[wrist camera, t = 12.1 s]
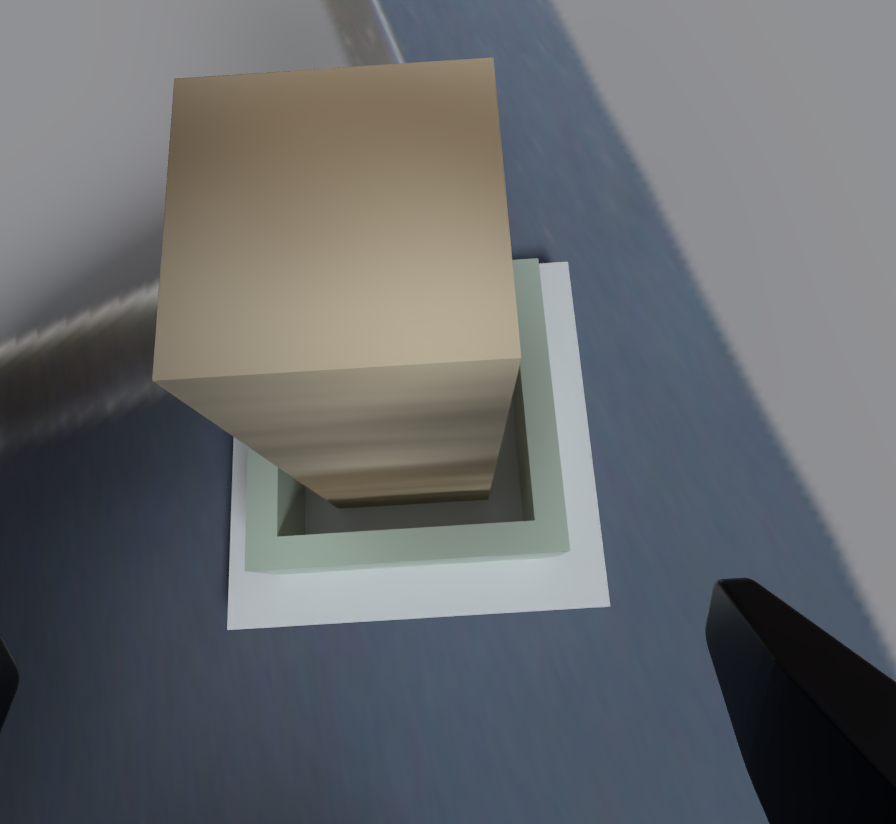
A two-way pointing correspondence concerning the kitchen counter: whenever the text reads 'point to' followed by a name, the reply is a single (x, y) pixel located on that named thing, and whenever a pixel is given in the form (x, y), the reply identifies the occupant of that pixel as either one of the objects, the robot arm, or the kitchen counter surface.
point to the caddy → (440, 512)
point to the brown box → (344, 275)
